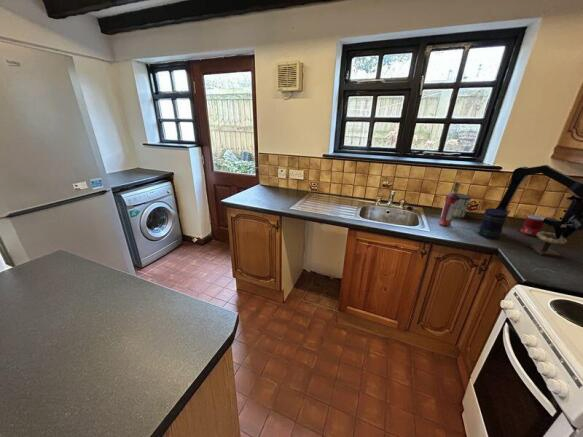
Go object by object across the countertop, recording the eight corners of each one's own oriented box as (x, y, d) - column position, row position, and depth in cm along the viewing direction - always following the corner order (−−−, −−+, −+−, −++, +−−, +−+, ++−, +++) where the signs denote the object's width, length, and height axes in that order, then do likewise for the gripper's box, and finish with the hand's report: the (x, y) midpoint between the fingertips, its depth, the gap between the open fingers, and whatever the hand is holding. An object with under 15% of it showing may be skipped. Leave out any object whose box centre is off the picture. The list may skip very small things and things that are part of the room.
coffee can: (447, 210, 177) (453, 192, 171) (464, 214, 172) (470, 195, 166) (446, 215, 169) (453, 196, 163) (464, 218, 164) (471, 199, 158)
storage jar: (474, 232, 146) (480, 209, 139) (489, 230, 146) (496, 207, 140) (488, 240, 137) (495, 216, 130) (504, 238, 137) (512, 214, 131)
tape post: (541, 255, 123) (548, 241, 120) (527, 246, 131) (534, 233, 128) (560, 257, 122) (568, 243, 119) (545, 248, 130) (553, 234, 127)
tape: (546, 244, 120) (549, 240, 119) (530, 234, 130) (532, 230, 129) (571, 245, 118) (573, 241, 118) (552, 235, 128) (554, 231, 127)
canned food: (540, 237, 142) (549, 220, 137) (525, 235, 143) (533, 218, 139) (531, 231, 149) (539, 215, 144) (516, 230, 150) (524, 213, 146)
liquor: (442, 221, 158) (456, 179, 147) (453, 226, 152) (468, 183, 141) (434, 223, 155) (448, 180, 144) (445, 228, 149) (460, 184, 138)
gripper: (569, 215, 110) (553, 244, 117) (615, 218, 108) (596, 248, 115) (549, 206, 120) (535, 234, 127) (591, 209, 119) (574, 237, 125)
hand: (559, 238), depth 123 cm, fingers closed on tape, 2 cm apart
